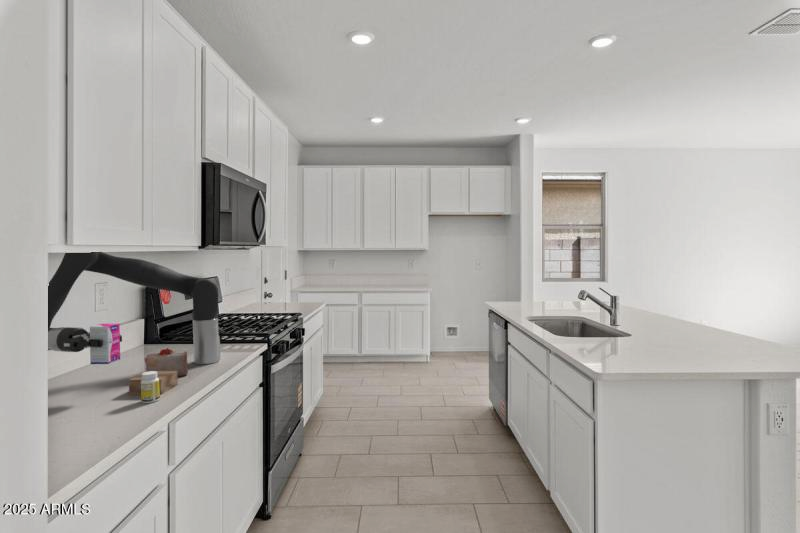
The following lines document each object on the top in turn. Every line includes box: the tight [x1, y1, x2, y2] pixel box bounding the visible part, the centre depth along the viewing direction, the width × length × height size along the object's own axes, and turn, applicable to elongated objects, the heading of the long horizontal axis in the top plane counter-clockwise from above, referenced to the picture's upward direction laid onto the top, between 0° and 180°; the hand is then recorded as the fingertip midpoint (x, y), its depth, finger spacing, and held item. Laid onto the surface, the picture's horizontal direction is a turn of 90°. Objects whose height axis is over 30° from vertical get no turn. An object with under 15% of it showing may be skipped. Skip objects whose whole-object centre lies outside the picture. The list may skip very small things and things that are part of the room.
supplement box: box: [89, 323, 121, 365], centre depth 138 cm, size 6×6×12 cm
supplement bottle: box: [140, 371, 161, 404], centre depth 133 cm, size 5×5×8 cm
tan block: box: [128, 371, 179, 396], centre depth 144 cm, size 10×10×5 cm
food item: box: [144, 347, 189, 377], centre depth 160 cm, size 14×8×10 cm, turn 108°
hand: (111, 340), depth 137 cm, fingers closed on supplement box, 6 cm apart
